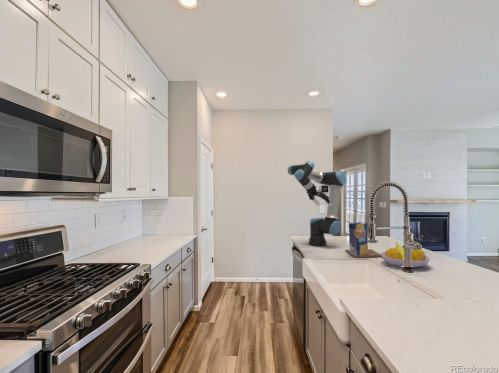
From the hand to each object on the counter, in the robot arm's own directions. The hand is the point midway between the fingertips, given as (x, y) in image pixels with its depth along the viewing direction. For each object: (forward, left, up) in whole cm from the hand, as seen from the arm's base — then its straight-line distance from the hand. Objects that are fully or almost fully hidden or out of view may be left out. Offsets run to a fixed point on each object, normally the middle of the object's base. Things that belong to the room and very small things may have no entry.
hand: (324, 205), depth 207 cm
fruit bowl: (+39, +40, -36) cm, 67 cm away
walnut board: (+13, +24, -36) cm, 45 cm away
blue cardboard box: (+15, +20, -35) cm, 43 cm away
